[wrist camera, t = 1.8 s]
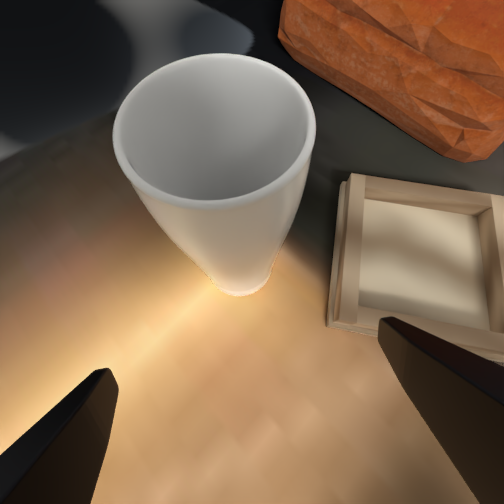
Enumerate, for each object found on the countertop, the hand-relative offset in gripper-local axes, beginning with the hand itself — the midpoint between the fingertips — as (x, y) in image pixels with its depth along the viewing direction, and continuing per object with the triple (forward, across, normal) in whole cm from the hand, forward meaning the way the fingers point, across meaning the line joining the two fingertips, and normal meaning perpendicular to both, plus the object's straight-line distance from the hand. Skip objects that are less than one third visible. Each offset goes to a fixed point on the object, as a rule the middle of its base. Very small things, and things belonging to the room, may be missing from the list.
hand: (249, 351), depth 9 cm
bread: (+28, -21, -10) cm, 37 cm away
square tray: (+12, -14, +5) cm, 19 cm away
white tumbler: (+14, 0, +4) cm, 14 cm away
